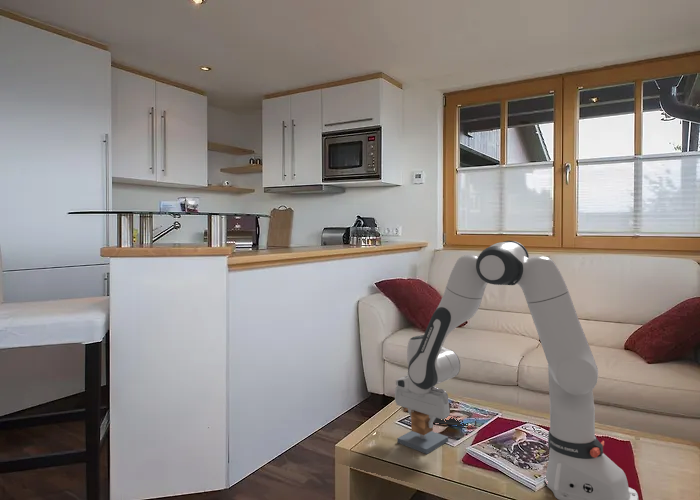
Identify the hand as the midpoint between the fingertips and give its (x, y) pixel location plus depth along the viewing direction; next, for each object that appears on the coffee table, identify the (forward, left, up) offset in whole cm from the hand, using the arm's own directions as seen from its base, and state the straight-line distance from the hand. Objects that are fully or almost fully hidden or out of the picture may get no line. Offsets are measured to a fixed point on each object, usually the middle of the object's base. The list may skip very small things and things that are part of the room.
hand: (421, 424), depth 158 cm
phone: (+1, -21, -7) cm, 22 cm away
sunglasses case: (+15, -23, -7) cm, 28 cm away
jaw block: (0, 0, -2) cm, 2 cm away
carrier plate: (0, 0, -6) cm, 6 cm away
